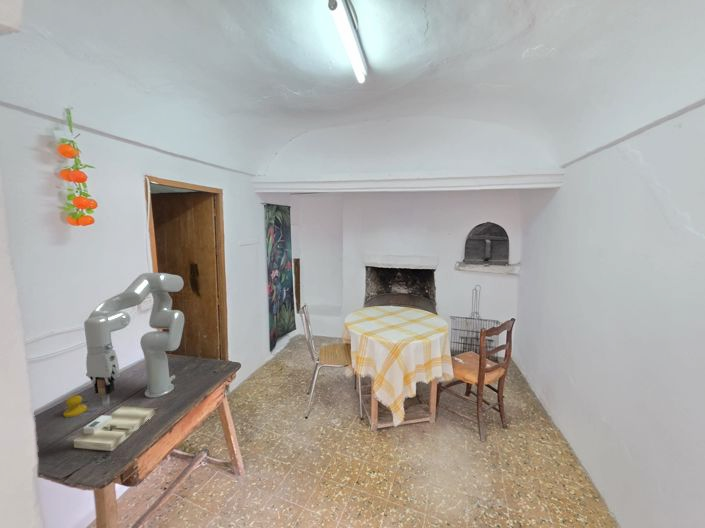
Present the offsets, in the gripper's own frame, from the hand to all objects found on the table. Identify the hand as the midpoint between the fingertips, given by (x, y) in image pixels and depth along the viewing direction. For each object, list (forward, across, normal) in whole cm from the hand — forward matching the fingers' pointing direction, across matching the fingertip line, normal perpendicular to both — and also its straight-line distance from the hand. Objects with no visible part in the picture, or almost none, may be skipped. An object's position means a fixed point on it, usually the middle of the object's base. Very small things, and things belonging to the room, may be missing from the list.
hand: (105, 391), depth 123 cm
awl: (+6, 0, 0) cm, 6 cm away
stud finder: (+16, +6, -1) cm, 17 cm away
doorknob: (+19, +30, -13) cm, 38 cm away
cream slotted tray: (+19, 0, -4) cm, 20 cm away
